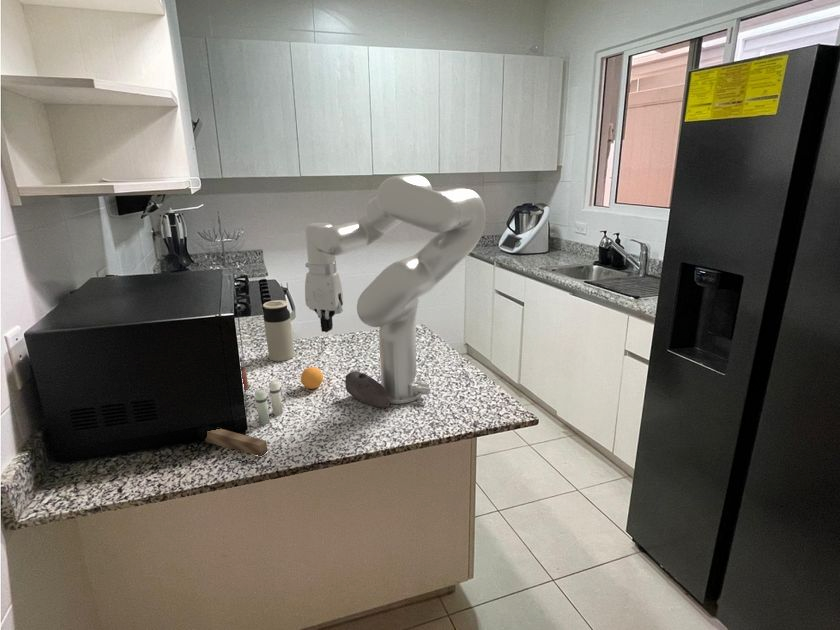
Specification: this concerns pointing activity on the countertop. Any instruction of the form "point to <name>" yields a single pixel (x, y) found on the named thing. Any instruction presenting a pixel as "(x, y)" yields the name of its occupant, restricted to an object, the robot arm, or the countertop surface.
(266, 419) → the sage pin
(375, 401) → the perforated stone tool
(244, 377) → the lighter
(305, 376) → the ball
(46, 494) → the countertop surface
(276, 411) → the ivory pin
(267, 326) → the travel mug
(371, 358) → the countertop surface
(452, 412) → the countertop surface
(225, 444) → the wall
